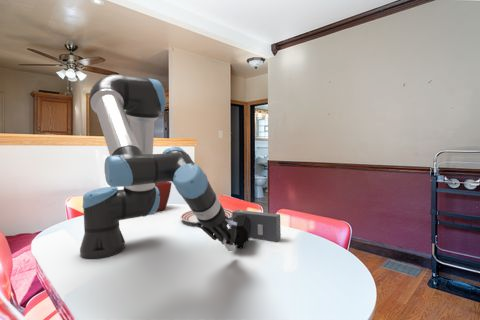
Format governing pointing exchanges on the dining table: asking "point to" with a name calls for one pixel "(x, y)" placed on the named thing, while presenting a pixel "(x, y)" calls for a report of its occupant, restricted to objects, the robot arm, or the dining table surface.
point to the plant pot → (163, 194)
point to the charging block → (262, 225)
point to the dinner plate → (193, 219)
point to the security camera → (242, 230)
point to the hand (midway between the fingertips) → (231, 247)
